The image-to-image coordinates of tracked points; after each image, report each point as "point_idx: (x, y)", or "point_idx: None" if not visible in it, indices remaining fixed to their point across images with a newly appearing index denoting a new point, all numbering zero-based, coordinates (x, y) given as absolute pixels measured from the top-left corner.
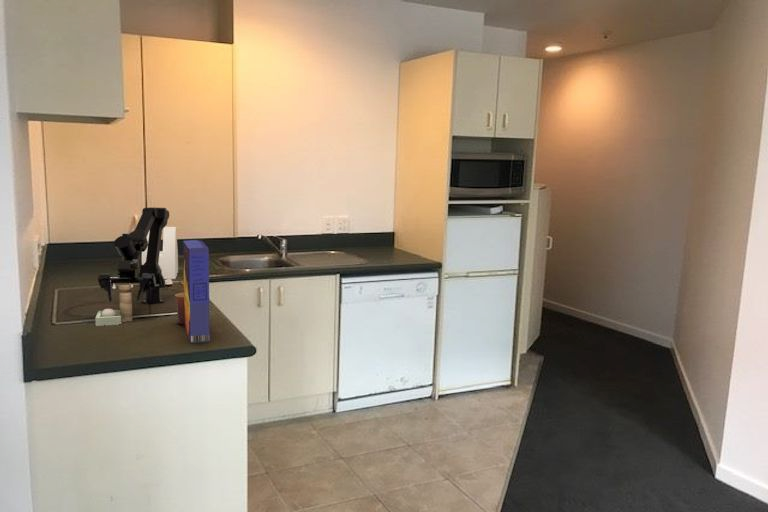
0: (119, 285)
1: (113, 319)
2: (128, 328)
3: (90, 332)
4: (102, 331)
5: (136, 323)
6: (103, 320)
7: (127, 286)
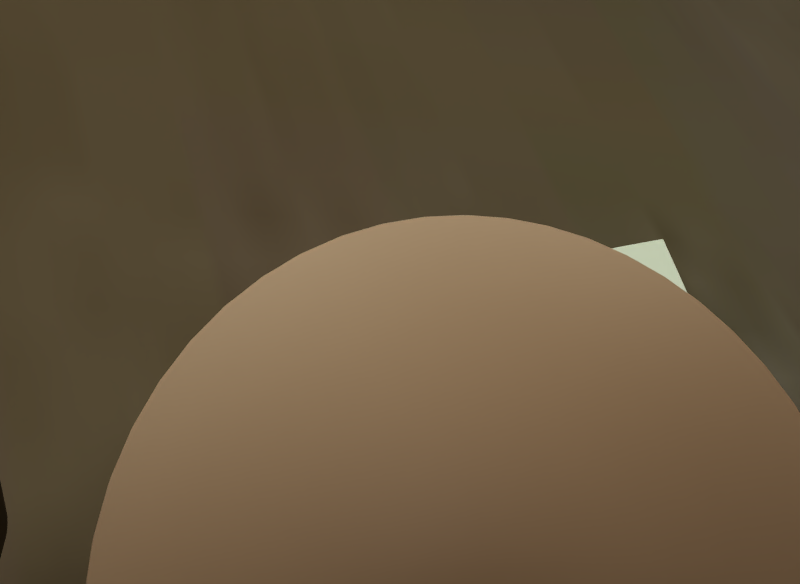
0: (729, 346)
1: None
2: (185, 160)
3: (535, 47)
4: (435, 69)
5: (128, 414)
6: None
7: (274, 296)
